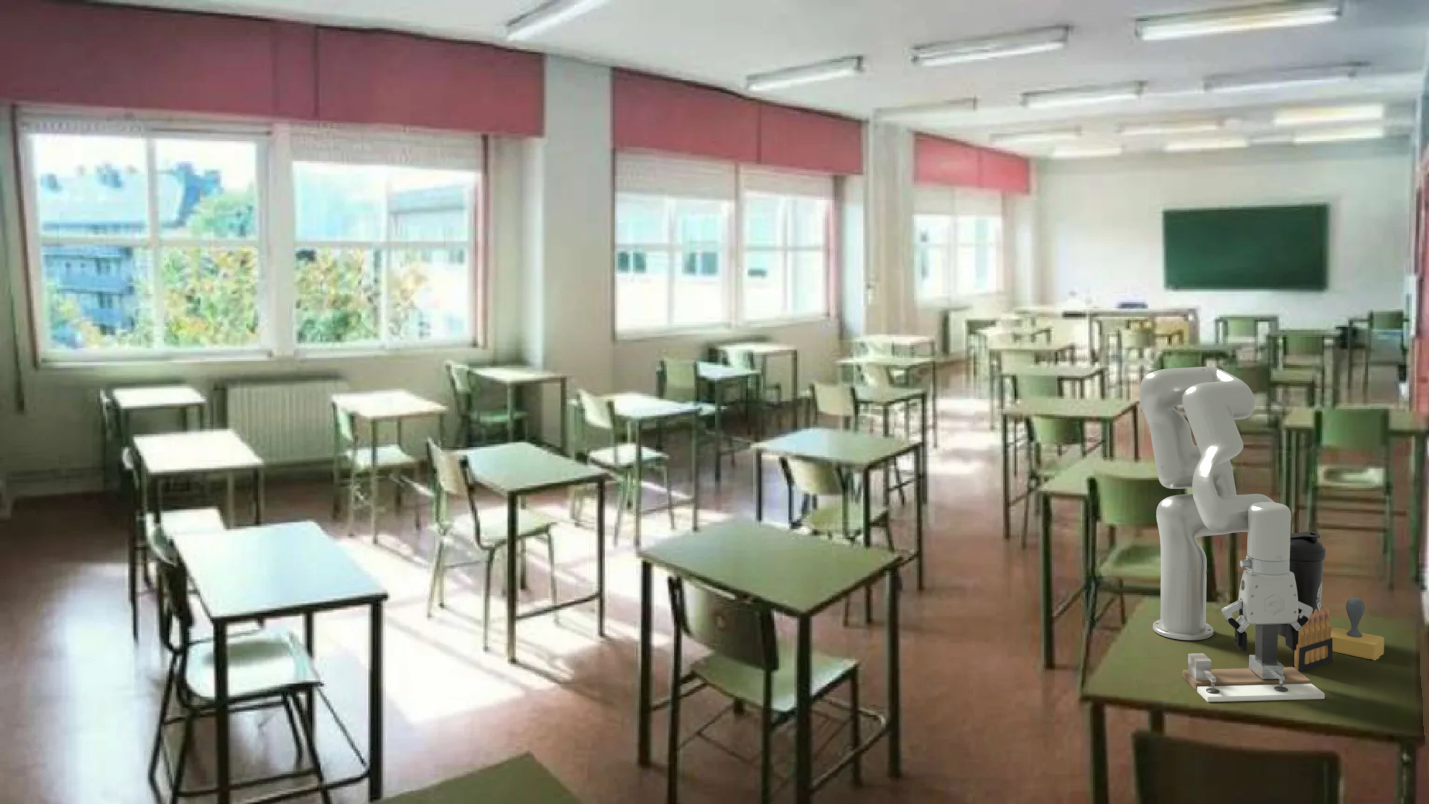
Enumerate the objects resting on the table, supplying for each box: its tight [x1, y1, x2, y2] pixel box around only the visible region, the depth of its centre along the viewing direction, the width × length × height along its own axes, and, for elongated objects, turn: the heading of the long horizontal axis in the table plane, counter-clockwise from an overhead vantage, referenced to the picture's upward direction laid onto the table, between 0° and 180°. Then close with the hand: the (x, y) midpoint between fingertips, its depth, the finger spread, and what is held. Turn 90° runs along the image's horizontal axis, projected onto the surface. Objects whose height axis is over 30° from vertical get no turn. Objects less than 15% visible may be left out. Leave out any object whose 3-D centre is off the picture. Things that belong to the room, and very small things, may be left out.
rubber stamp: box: [1331, 596, 1385, 661], centre depth 232 cm, size 10×6×12 cm, turn 43°
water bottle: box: [1278, 531, 1327, 638], centre depth 243 cm, size 10×10×23 cm
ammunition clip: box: [1291, 605, 1334, 673], centre depth 225 cm, size 11×2×12 cm, turn 117°
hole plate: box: [1196, 683, 1326, 703], centre depth 212 cm, size 5×22×1 cm, turn 88°
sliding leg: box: [1248, 624, 1285, 686], centre depth 216 cm, size 10×4×11 cm, turn 178°
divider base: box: [1182, 652, 1311, 692], centre depth 217 cm, size 10×22×6 cm, turn 88°
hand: (1266, 648), depth 218 cm, fingers open, 9 cm apart
